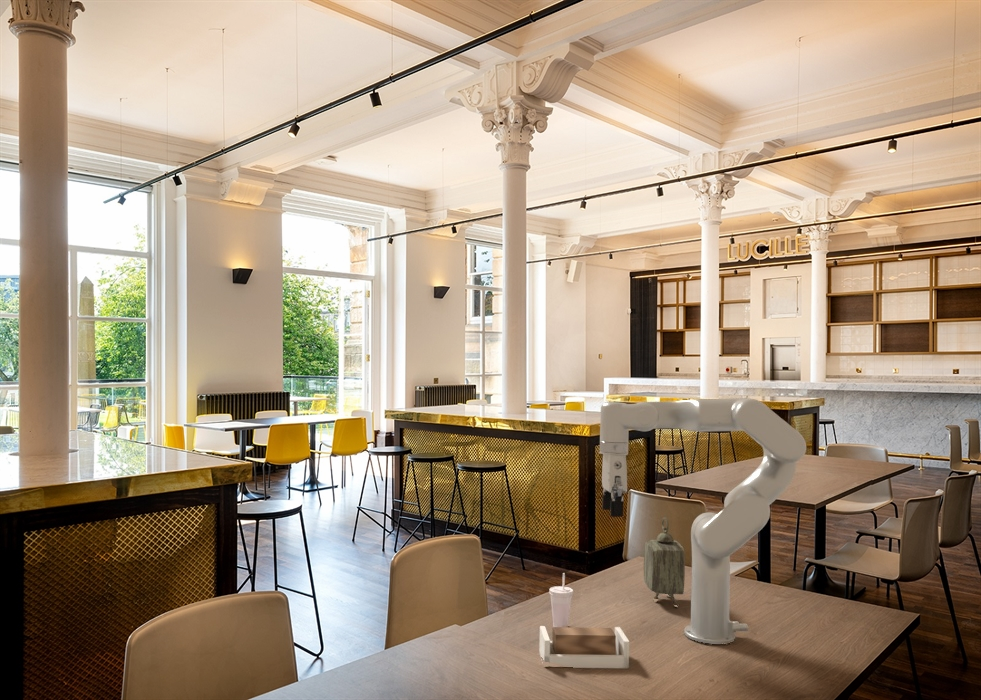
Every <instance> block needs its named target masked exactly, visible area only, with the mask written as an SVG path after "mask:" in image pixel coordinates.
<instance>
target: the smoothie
mask: <svg viewBox="0 0 981 700" xmlns="http://www.w3.org/2000/svg"><path fill="white" fill-rule="evenodd" d="M565 580H566V574H565V572H563V573H562V585H560V586H559V585H558V586H552V587H550V588H549V590H548V591H549V595H550V603H551V614H552V615H551V616H552V624H553V625H552V628H553V627H569V626H568V624H569V618H570V612H571V611H570V610H571V606H572V605H571V604H572V597H573V595H574V589H573V588H571V587H568V586H565V582H566V581H565Z"/></svg>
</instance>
